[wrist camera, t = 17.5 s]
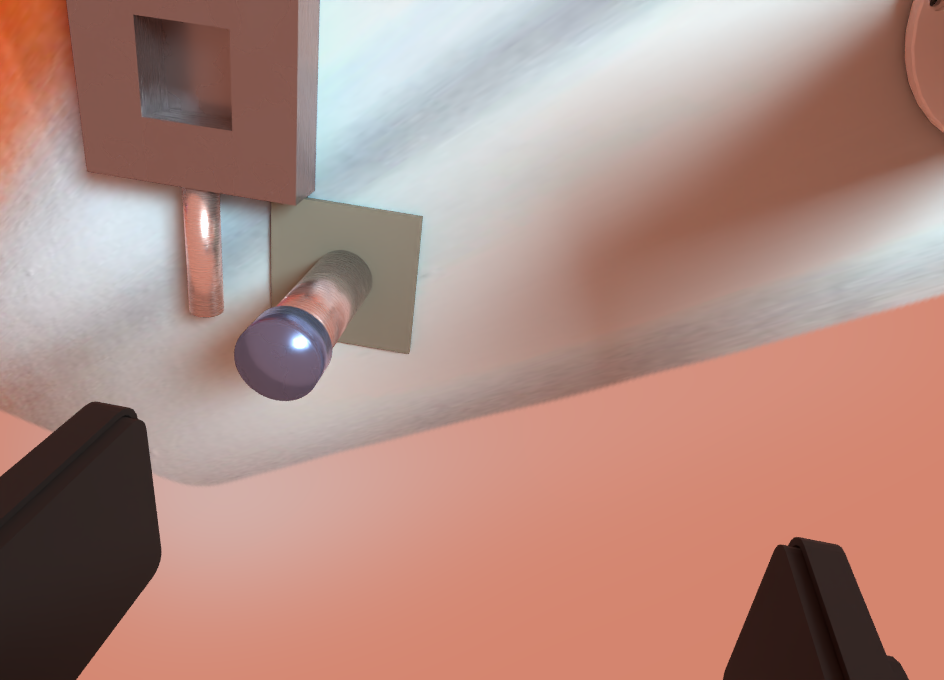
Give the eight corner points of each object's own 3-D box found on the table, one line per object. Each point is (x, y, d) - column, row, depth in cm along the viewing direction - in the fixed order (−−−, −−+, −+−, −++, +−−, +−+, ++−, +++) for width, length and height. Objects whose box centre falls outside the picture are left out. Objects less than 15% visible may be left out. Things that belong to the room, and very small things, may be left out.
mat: (422, 216, 42) (421, 218, 42) (409, 351, 46) (408, 354, 46) (273, 192, 43) (271, 193, 43) (273, 327, 47) (271, 329, 47)
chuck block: (96, -72, 38) (57, -75, 35) (320, -40, 37) (298, -41, 34) (131, 281, 47) (102, 301, 44) (311, 312, 46) (294, 334, 43)
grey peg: (311, 239, 44) (232, 316, 34) (379, 251, 43) (320, 331, 33) (309, 303, 45) (235, 392, 36) (375, 314, 45) (318, 407, 35)
